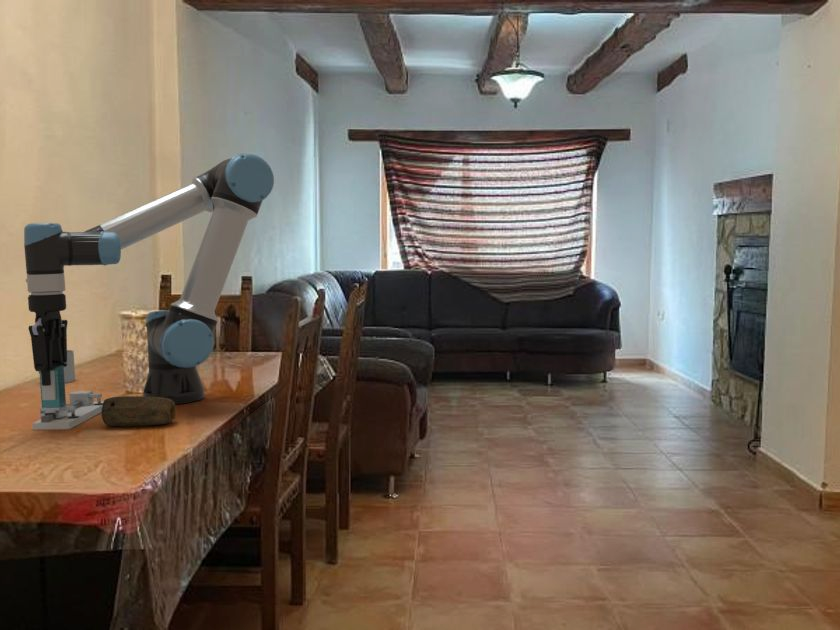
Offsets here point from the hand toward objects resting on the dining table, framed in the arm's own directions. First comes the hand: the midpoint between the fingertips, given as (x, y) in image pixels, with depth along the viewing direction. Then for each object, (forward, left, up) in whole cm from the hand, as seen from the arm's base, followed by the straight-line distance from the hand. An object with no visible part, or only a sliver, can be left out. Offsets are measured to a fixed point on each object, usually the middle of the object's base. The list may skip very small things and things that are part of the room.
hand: (53, 397), depth 173 cm
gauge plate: (-2, -6, -6) cm, 9 cm away
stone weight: (-20, +2, -6) cm, 21 cm away
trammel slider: (-1, 0, -4) cm, 4 cm away
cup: (+25, -55, -6) cm, 61 cm away
